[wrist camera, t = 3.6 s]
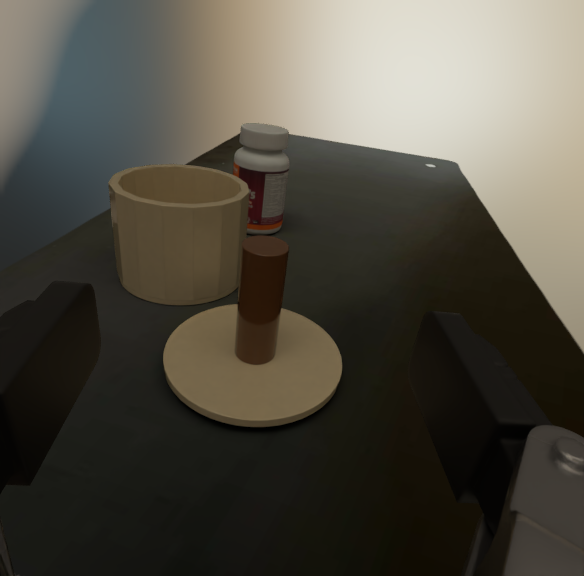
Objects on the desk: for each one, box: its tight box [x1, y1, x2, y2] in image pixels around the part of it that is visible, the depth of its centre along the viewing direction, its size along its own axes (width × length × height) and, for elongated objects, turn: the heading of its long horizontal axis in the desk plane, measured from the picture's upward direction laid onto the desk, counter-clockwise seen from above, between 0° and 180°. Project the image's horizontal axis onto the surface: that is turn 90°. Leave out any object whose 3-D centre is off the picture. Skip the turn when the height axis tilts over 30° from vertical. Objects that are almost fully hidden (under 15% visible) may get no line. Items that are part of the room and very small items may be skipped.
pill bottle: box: [233, 123, 289, 235], centre depth 48 cm, size 6×6×11 cm
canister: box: [108, 164, 249, 305], centre depth 37 cm, size 11×11×8 cm
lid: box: [163, 235, 342, 427], centre depth 27 cm, size 12×12×9 cm
